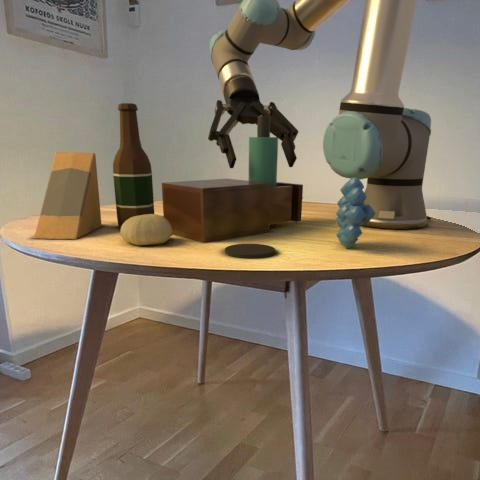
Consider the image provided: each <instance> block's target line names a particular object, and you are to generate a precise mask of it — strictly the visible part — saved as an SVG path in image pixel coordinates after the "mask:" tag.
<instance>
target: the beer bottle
mask: <svg viewBox="0 0 480 480" xmlns="http://www.w3.org/2000/svg"><path fill="white" fill-rule="evenodd" d="M117 110H118V111H119V136H120V137H119V148H118V150H117V151H116V153H115V155H114V158H113V161H112V162H113V163H112V175H113V187H114V199H115V209H116V219H117V226H118V228H119V229H121V226H122V225H123V223H124V222H125V221H126V220H128V219H129V218H131V217H134V216H138V215H146V214H155V199H154V185H153V184H154V183H153V171H152V163H151V161H150V159H149V156H148V154H147V152H146V151H145V150H144V149H143V147H142V142H141V138H140V131H139V122H138V114H137V112H138V110H139V108H138V105H137V104H135V103H131V102H121V103H118V105H117Z"/></svg>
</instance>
